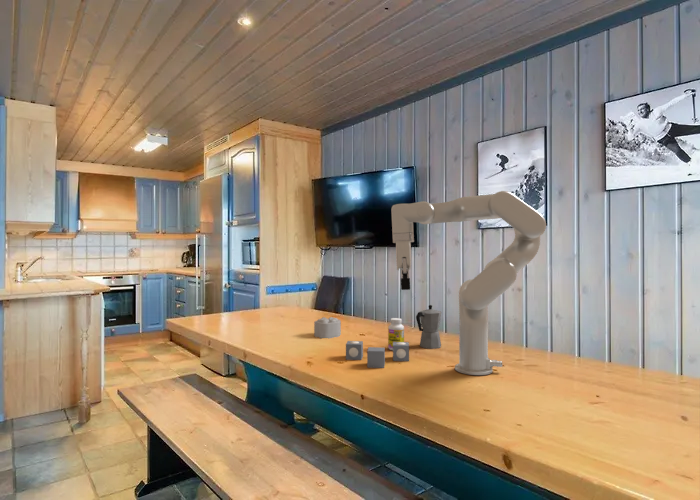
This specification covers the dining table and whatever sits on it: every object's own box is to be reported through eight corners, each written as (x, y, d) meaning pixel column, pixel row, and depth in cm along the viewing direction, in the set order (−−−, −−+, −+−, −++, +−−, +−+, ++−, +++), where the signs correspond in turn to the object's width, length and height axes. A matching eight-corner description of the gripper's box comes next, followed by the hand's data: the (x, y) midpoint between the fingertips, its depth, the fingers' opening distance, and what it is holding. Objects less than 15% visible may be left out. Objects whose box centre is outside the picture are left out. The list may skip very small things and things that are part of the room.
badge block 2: (408, 357, 167) (408, 341, 167) (409, 361, 161) (409, 345, 161) (393, 357, 168) (393, 341, 168) (393, 361, 162) (393, 345, 162)
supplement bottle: (385, 350, 180) (385, 319, 179) (391, 346, 185) (391, 317, 185) (400, 351, 176) (400, 320, 176) (406, 348, 182) (406, 318, 182)
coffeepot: (431, 342, 194) (431, 302, 194) (448, 346, 186) (448, 304, 186) (408, 347, 184) (408, 305, 184) (425, 351, 177) (425, 308, 177)
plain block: (384, 363, 158) (384, 347, 158) (384, 368, 153) (384, 351, 153) (368, 363, 159) (368, 347, 159) (367, 367, 153) (367, 350, 153)
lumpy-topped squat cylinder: (311, 335, 209) (311, 318, 209) (332, 332, 218) (332, 315, 218) (324, 339, 201) (324, 320, 201) (345, 335, 210) (345, 318, 210)
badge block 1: (362, 356, 169) (362, 340, 169) (361, 360, 163) (361, 344, 163) (347, 355, 170) (347, 340, 170) (345, 360, 164) (345, 343, 164)
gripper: (393, 239, 162) (395, 288, 162) (392, 238, 147) (394, 291, 147) (413, 238, 161) (415, 287, 161) (414, 237, 146) (417, 291, 146)
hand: (405, 289), depth 154 cm, fingers closed
